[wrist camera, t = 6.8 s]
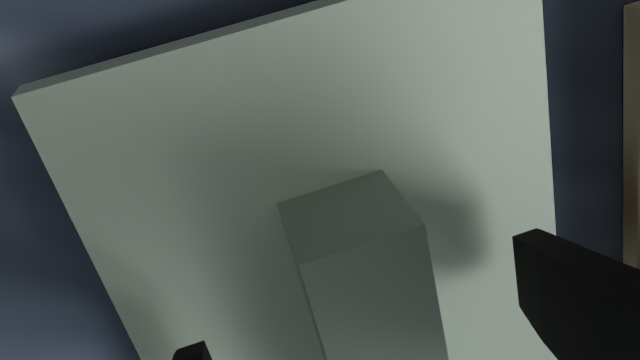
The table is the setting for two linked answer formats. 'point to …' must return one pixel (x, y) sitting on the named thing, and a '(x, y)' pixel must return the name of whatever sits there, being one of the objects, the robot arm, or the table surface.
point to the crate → (631, 135)
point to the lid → (313, 180)
